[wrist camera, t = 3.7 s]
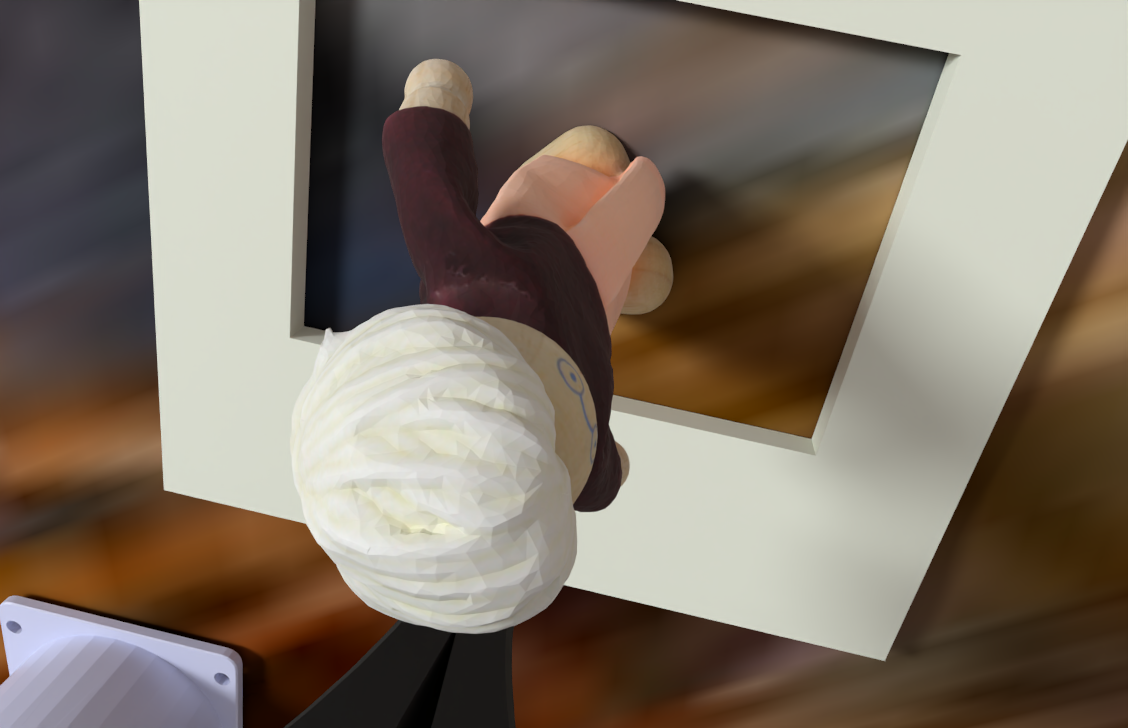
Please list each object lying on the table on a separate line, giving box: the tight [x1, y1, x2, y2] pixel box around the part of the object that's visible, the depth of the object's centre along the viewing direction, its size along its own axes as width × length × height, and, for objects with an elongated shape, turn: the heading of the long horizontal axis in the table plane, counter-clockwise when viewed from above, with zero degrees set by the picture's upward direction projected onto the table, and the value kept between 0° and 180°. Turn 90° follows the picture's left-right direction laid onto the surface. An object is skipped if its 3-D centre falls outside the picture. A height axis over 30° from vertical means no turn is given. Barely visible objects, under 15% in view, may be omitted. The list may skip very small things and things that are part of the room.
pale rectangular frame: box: [139, 0, 1128, 661], centre depth 18 cm, size 18×20×1 cm
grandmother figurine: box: [290, 59, 673, 634], centre depth 13 cm, size 8×4×13 cm, turn 33°
